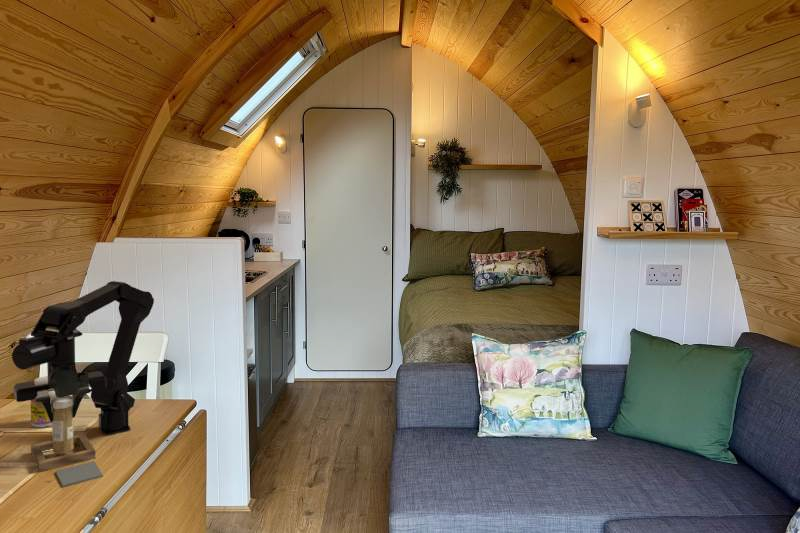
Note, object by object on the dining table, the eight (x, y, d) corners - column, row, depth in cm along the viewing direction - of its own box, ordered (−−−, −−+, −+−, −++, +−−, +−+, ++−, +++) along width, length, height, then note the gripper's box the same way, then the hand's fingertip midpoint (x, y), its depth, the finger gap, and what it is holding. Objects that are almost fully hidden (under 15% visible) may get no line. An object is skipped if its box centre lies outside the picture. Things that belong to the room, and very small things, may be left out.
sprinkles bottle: (77, 450, 135) (76, 398, 133) (57, 456, 131) (56, 403, 129) (68, 444, 137) (67, 393, 136) (48, 450, 134) (47, 398, 132)
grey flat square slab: (94, 462, 132) (94, 461, 132) (102, 476, 126) (102, 474, 126) (55, 472, 126) (55, 470, 126) (62, 487, 121) (62, 485, 120)
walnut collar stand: (84, 440, 142) (83, 433, 142) (95, 458, 134) (95, 450, 134) (31, 452, 135) (30, 445, 134) (39, 472, 126) (39, 463, 126)
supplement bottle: (25, 425, 149) (23, 380, 147) (47, 416, 155) (46, 373, 154) (43, 430, 147) (42, 384, 145) (65, 421, 153) (64, 377, 152)
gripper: (19, 373, 119) (21, 441, 121) (112, 360, 131) (113, 421, 133) (12, 360, 127) (14, 423, 129) (100, 348, 140) (101, 407, 142)
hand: (62, 419), depth 133 cm, fingers closed on sprinkles bottle, 4 cm apart
